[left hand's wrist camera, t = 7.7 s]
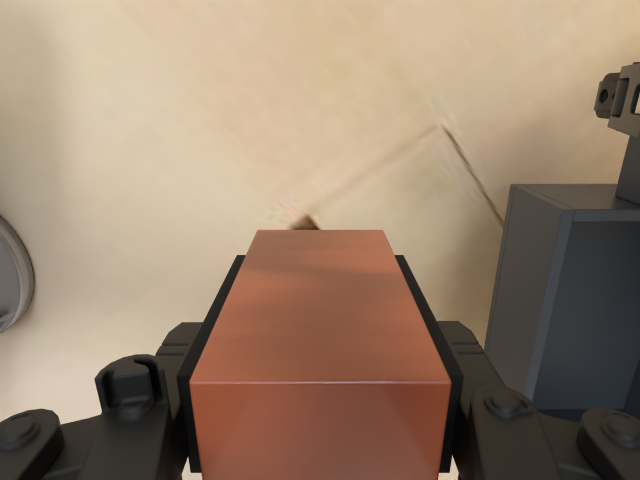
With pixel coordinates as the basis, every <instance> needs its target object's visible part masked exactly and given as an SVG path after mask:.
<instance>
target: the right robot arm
mask: <svg viewBox="0 0 640 480" xmlns="http://www.w3.org/2000/svg"><path fill="white" fill-rule="evenodd" d="M594 110H595V111H596V115H597V116H598V117H599V118H606V119H609V123H608V127H609V128H612V129H615V130H616V131H620V132H622V133H625V134H628V135H630V136H633V137H635V138H638V139H640V62H634V63H633V65H628V66H624V67H622V68H621V72H620V73H609V74H607V75H606V76H605V77H604V79H603V81H602V82H600V84H599V88H598V93H597V97H596V102H595V106H594Z"/></svg>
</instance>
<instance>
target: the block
mask: <svg viewBox="0 0 640 480" xmlns="http://www.w3.org/2000/svg"><path fill="white" fill-rule="evenodd" d="M189 385H190V392H191V399H192V407H193V414H194V421H195V428H196V436H197V443H198V450H199V457H200V465H201V472H202V479H203V480H438V475H439V468H440V461H441V454H442V447H443V440H444V432H445V425H446V418H447V411H448V404H449V397H450V389H451V380H450V378H449V375H448V373H447V371H446V369H445V366H444V364H443V362H442V360H441V358H440V355H439V353H438V351H437V349H436V347H435V344H434V342H433V340H432V338H431V335H430V333H429V331H428V329H427V327H426V324H425V322H424V320H423V318H422V316H421V313H420V311H419V309H418V307H417V305H416V302H415V300H414V298H413V296H412V293H411V291H410V289H409V287H408V285H407V282H406V280H405V278H404V276H403V274H402V271H401V269H400V267H399V265H398V262H397V260H396V258H395V256H394V254H393V251H392V249H391V247H390V245H389V243H388V240H387V238H386V236H385V234H384V231H383V230H257V232H256V234H255V236H254V239H253V241H252V243H251V245H250V248H249V250H248V252H247V254H246V256H245V259H244V261H243V263H242V265H241V268H240V270H239V272H238V274H237V277H236V279H235V281H234V283H233V285H232V288H231V290H230V292H229V294H228V297H227V299H226V301H225V303H224V305H223V308H222V310H221V312H220V314H219V317H218V319H217V321H216V323H215V325H214V328H213V330H212V332H211V334H210V337H209V339H208V341H207V343H206V346H205V348H204V350H203V352H202V354H201V357H200V359H199V361H198V363H197V366H196V368H195V370H194V372H193V374H192V377H191V379H190V381H189Z"/></svg>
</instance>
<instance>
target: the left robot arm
mask: <svg viewBox="0 0 640 480" xmlns="http://www.w3.org/2000/svg"><path fill="white" fill-rule="evenodd" d="M245 256H246V255H237V256H236V258H235V260H234V262H233V264H232V266H231V268H230V270H229V272H228V274H227V276H226V278H225V280H224V282H223V284H222V286H221V288H220V290H219V292H218V294H217V296H216V298H215V300H214V302H213V304H212V306H211V308H210V310H209V312H208V314H207V316H206V318H205V320H204V322H182V323H181V324H179V325H178V326H177V327H175V328H174V329H173V330H171V331H170V332H169V333H168V335H167V336H166V338H165V340H164V341H163V343H162V346H160V348H159V349H158V351H157V352H156V356H152V355H149V354H138V355H132V356H128V357H123V358H121V359H119V360H117V361H114V362H112V363H110V364H109V365H107V366H106V367H105V368H103V369H102V370H101V371H100V372H99V373H98V375H97V376H96V377H95V383H96V387H97V392H98V396H99V400H100V404H101V408H102V413H101V415H98V416H95V417H91V418H88V419H83V420H79V421H75V422H70V423H66V424H62V425H61V424H60V421H59V417H58V415H56V414H55V413H54V412H53V411H51V410H46V409H36V410H28V411H25V412H22V413H19V414H16V415H13V416H11V417H9V418H7V419H6V420H4V421H2V422H0V480H182V475H181V474H182V472H183V469H184V466H185V463H186V461H187V458H188V457H189V464H190V471H191V473H202V472H201V465H200V457H199V450H198V443H197V436H196V428H195V421H194V414H193V407H192V399H191V392H190V385H189V381H190V379H191V377H192V374H193V372H194V370H195V368H196V366H197V363H198V361H199V359H200V357H201V354H202V352H203V350H204V348H205V346H206V343H207V341H208V339H209V337H210V334H211V332H212V330H213V328H214V325H215V323H216V321H217V319H218V317H219V314H220V312H221V310H222V308H223V305H224V303H225V301H226V299H227V297H228V294H229V292H230V290H231V288H232V285H233V283H234V281H235V279H236V277H237V274H238V272H239V270H240V268H241V265H242V263H243V261H244V259H245ZM394 256H395V258H396V260H397V262H398V265H399V267H400V269H401V271H402V274H403V276H404V278H405V280H406V282H407V285H408V287H409V289H410V291H411V293H412V296H413V298H414V300H415V302H416V305H417V307H418V309H419V311H420V313H421V316H422V318H423V320H424V322H425V324H426V327H427V329H428V331H429V333H430V335H431V338H432V340H433V342H434V344H435V347H436V349H437V351H438V353H439V355H440V358H441V360H442V362H443V364H444V366H445V369H446V371H447V373H448V375H449V378H450V380H451V389H450V397H449V404H448V411H447V418H446V425H445V432H444V440H443V447H442V454H441V461H440V468H439V473H450V466H451V459H452V455H453V458H454V461H455V463H456V466H457V469H458V472H459V475H458V480H640V420H639V419H637V418H635V417H633V416H631V415H629V414H627V413H624V412H621V411H618V410H615V409H610V408H602V407H597V408H592V409H588V410H587V411H586V412H585V413H584V414H583V415H582V419H581V422H580V423H577V422H573V421H568V420H564V419H560V418H555V417H551V416H548V415H545V414H541V413H539V412H538V410H537V409H536V407H535V406H534V404H533V403H532V401H530V400H529V399H528V398H527V397H526V396H524V395H523V394H522V393H520V392H518V391H516V390H514V389H512V388H508V387H506V385H505V384H504V382H503V380H502V379H501V377H500V376H499V374H498V372H497V371H496V369H495V368H494V366H493V364H492V363H491V361H490V360H489V358H488V357H487V355H486V354H485V352H484V350H483V349H482V347H481V345H479V342H478V341H477V339H476V337H475V336H474V334H473V333H472V331H471V330H469V329H468V328H467V327H465V326H464V325H463V324H461V323H460V322H459V321H436V319H435V317H434V315H433V313H432V311H431V309H430V307H429V305H428V303H427V301H426V299H425V297H424V295H423V293H422V291H421V289H420V287H419V285H418V283H417V282H416V280H415V278H414V276H413V274H412V272H411V270H410V268H409V266H408V264H407V262H406V260H405V258H404V256H403V255H394ZM32 294H33V271H32V266H31V263H30V260H29V257H28V254H27V252H26V250H25V248H24V246H23V244H22V242H21V241H20V239H19V238H18V236H17V235H16V233H15V232H14V231H13V229H12V228H11V227H10V226H9V225H8V224H7V222H6V221H5V220H4V219H3V218H2V217H1V216H0V334H1V333H2V332H3V331H4V330H6V329H7V328H8V327H10V326H11V325H12V324H14V323H15V322H16V321H17V320H18V319H19V318H20V317H21V316H22V315H23V314H24V312H25V311H26V309H27V307H28V306H29V303H30V301H31V297H32Z"/></svg>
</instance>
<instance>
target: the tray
mask: <svg viewBox="0 0 640 480" xmlns="http://www.w3.org/2000/svg"><path fill="white" fill-rule="evenodd" d="M484 352H485V354H486V355H487V357H488V358H489V360H490V361H491V363H492V364H493V366H494V368H495V369H496V371H497V372H498V374H499V376H500V377H501V379H502V380H503V382H504V384H505V385H506V387H508V388H512V389H514V390H516V391H518V392H520V393H522V394H523V395H524V396H526V397H527V398H528V399H529V400H530V401H532V403H533V404H534V406H535V407H536V409H537V410H538V412H539V413H541V414H545V415H548V416H551V417H555V418H560V419H564V420H568V421H573V422H577V423H580V422H581V419H582V415H583V414H584V413H585V412H586V411H587V410H588V409H592V408H597V407H602V408H610V409H615V410H618V411H621V412H624V413H627V414H629V415H631V416H633V417H635V418H637V419H639V420H640V139H638V138H635V137H633V136H630V137H629V141H628V145H627V149H626V153H625V157H624V160H623V164H622V168H621V172H620V176H619V180H618V184H511V186H510V192H509V198H508V205H507V211H506V217H505V223H504V229H503V235H502V242H501V248H500V254H499V260H498V266H497V272H496V279H495V285H494V291H493V297H492V303H491V309H490V316H489V322H488V328H487V334H486V340H485V346H484Z"/></svg>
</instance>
